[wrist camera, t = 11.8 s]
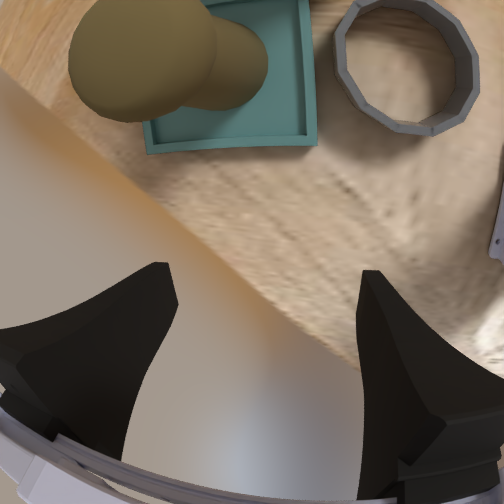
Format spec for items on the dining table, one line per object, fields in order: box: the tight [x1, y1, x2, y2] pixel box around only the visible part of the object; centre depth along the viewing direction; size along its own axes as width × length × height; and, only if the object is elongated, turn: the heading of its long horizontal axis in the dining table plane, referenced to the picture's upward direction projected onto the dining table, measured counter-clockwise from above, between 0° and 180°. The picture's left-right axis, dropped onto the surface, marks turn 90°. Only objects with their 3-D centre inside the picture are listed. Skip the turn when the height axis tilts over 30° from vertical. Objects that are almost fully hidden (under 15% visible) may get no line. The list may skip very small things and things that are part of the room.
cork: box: [68, 0, 268, 123], centre depth 11 cm, size 6×6×11 cm
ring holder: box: [332, 0, 480, 137], centre depth 13 cm, size 9×9×2 cm
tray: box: [142, 0, 317, 155], centre depth 16 cm, size 10×11×1 cm
